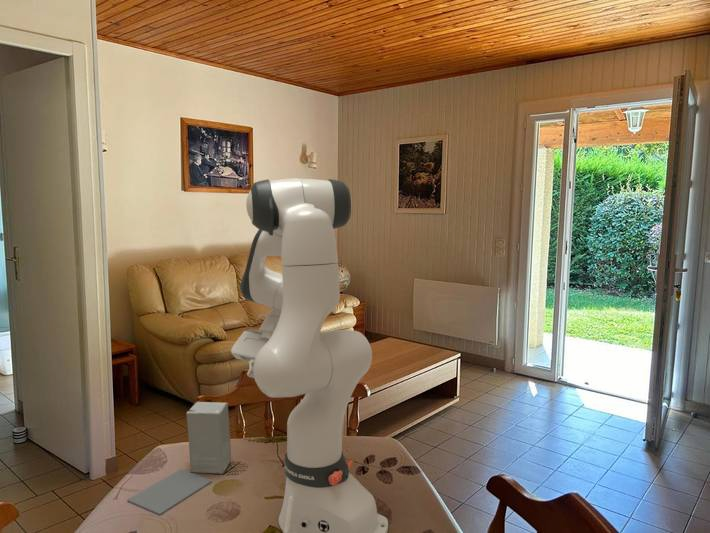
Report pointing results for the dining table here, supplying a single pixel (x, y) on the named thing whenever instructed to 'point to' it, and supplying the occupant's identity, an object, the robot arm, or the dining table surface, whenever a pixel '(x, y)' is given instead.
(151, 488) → the mat
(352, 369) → the robot arm
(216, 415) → the skincare box
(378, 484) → the dining table surface
